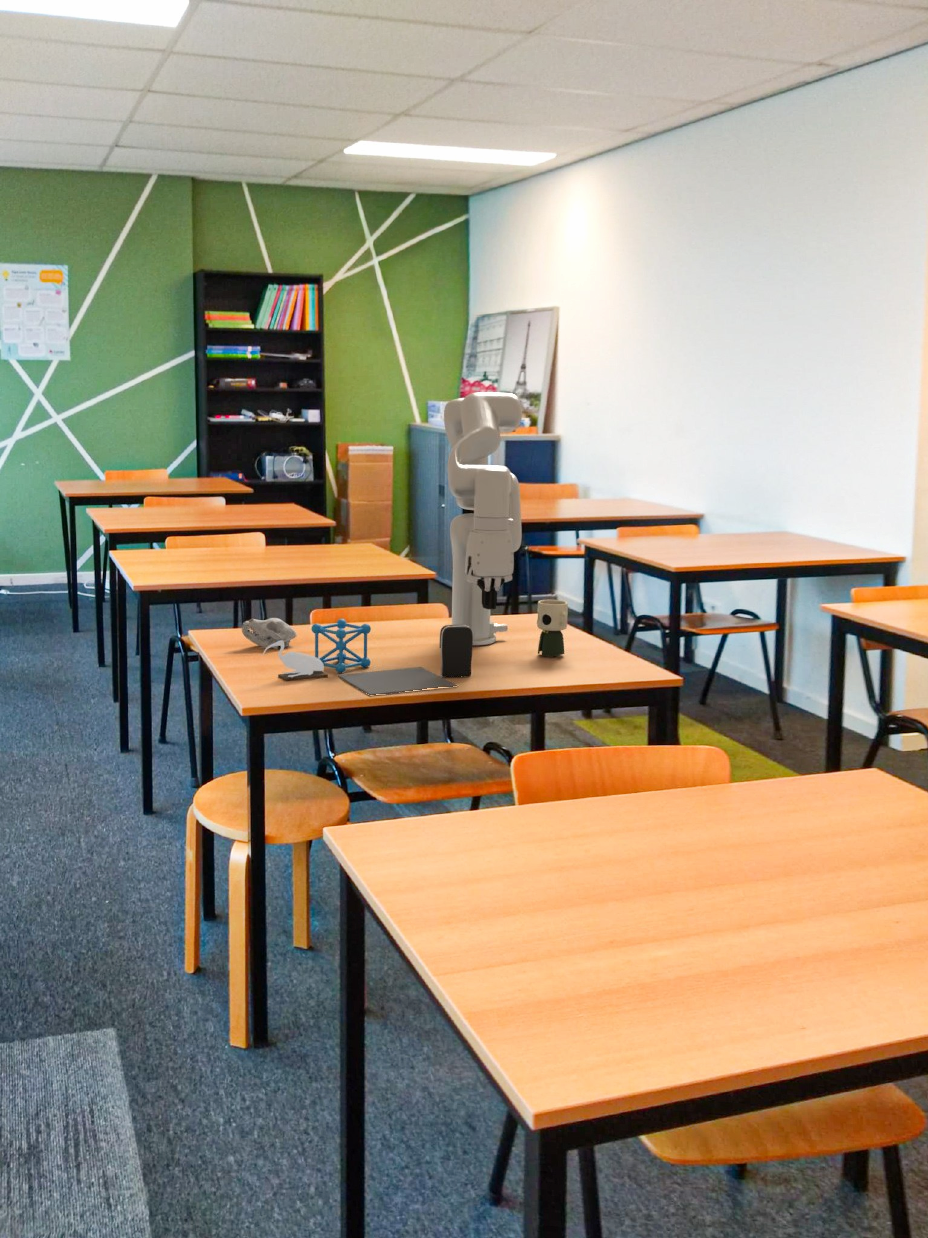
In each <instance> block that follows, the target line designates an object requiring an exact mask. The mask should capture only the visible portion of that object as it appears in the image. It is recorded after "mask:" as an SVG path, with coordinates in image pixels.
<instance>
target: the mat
mask: <svg viewBox="0 0 928 1238" xmlns="http://www.w3.org/2000/svg"><path fill="white" fill-rule="evenodd" d="M337 678H339V679H341V680H342V681H344V682H346V683H347V682H348V683H347V684H349V685H350V686H352V685H353V687H354V688H356V689H357V688H358V689H357V690H359V691H361V692H362V691H363V692H362V693H364V694H366V693H367V694H369V695H376V694H386V695H392V694H391V693H396V694H400V693H399V692H405V691H413V690H422V689H427V688H438V687H453V686H457V687H458V684H456V683H454V682H451V681H450V680H448V679H446V678H445V677H442V676H441V675H438V674H436V673H435V672H433V671H430V670H429V669H427V668H424V667H422V666H416V667H414V666H413V667H407V668H406V667H404V668H395V669H385V670H384V669H383V670H373V671H364V672H362V671H361V672H354V673H351V672H350V673H340V674H337ZM453 688H454V687H453ZM405 693H406V692H405ZM367 694H366V695H367ZM369 695H368V696H369Z"/></svg>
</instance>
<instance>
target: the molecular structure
mask: <svg viewBox="0 0 928 1238" xmlns="http://www.w3.org/2000/svg"><path fill="white" fill-rule="evenodd" d="M346 627H347V628H351V629H348V630H345V628H346ZM331 628H332V629H331ZM333 628H338V629H337V630H333ZM310 630H311V632H312V633H313V634H314V657H316V658H317V659H319V660H321V661H322V663H323V665H324V667H328V668H333V669H335V671H336V673H338V674H345V672H346V670H347V669H350V668H354V667H357V666H358V667H359V666H361V667H362V668H369V667H370V665H371V660H370V658H368V634H370V632H371V631H372V628H371V625H369V624H368V623H363V624H362V625H361V626H360V625H356V624H351V623H347V621H346V619H344V618H339V619H338V620H337V621H336V623H331V624H330V623H329V624H326V625H325V624H324V625H321V624H320V623H314V624H312V626H311V629H310ZM319 634H321V635H323V636H324V637H325V638H326V639H328V640H330V641H331V642H332V643H334V644H335V647H334V648H332V649H331V650H330V651H328V652H327V653H325V654H324V655H322V656H321V657H319ZM330 634H332V635H335V636H336V638H337V639H338V640H337V639H336V638H335V637H334V638H333V637H332V636H331V635H330ZM351 634H353V635H352V636H350V637H349V638H347V639H346V640H344V639H345V638H346V637H347V635H351ZM362 634H363V657H361V656H360V655H358V654H357V653H355V652H354V651H352V650H351V649H349V648H348V647H347V644H349V643H350V642H351V641H353V640H355V639H356V638H357V637H359V636H361V635H362ZM337 651H338V652H337ZM344 651H346V652H347V653H348V654H350V655H351V656H352V657H350V656H347V654H346V653H345V652H344ZM335 652H337V654H336V655H335V656H333V657H330V656H331V655H332V654H334V653H335ZM331 661H338V663H337V664H333V663H329V662H331ZM345 661H350V662H353V663H350V664H345V663H344V662H345Z"/></svg>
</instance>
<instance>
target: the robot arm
mask: <svg viewBox="0 0 928 1238" xmlns="http://www.w3.org/2000/svg"><path fill="white" fill-rule="evenodd" d="M522 419H523V407H522V404H521V401H520V399H519V397H518V396H517V395H516V394H514V393H512V392H511V393H510V392H487V391H485V392H482V391H481V392H473V393H469V394H468V395H466V396H465V397H460V398H454V399H451V400H449V401H448V402H446V404H445V406H444V410H443V423H444V429H445V434H446V437H447V441H448V443H449V444H450V448H451V451H450V452H449V454H448V455H449V456H448V460H447V465H446V466H447V479H448V480H447V481H448V487H449V491H450V493H451V495H452V496H453V497H454V498H455V503H456V504H457V506H458V507H459V508H461V509H464V510H470V511H473V513H472V512H471V513H462V514H459V515H457V516H455V517H454V518H453V519H452V520H451V521H450V525H449V535H450V537H449V538H450V544H451V555H452V588H451V589H452V590H451V591H452V592H451V593H452V594H451V595H452V596H451V601H452V602H451V625H466V626H468V627H470V628H471V630H472V634H473V646H485V645H491V644H494V643H495V642H496V640H497V636H496V635H495V634H496V633H498V632H499V633H503V632H508V629H509V628H508V625H507V623H500V624H498V623H494V622H492V621H491V610H496V609H497V605H498V591H500V588H501V587H502V585H503V584H504V583H508V582H510V581H513V575H512V574H513V573H514V568H515V567H514V566H515V565H514V564H515V563H514V562H515V561H514V559H515V557H514V555H515V554H514V553H515V552H517V551H518V550H519V549H520V547H521V544H522V531H523V530H522V529H523V528H522V514H521V513H522V509H521V488H520V483H519V480H518V478H517V476H516V475H515V474H514V473H512V472H511V470H510V469H509V468H508V467H507V466H505V465H501V464H499V465H498V464H497V465H495V464H494V465H491V464H489V456H490V455H492V454H493V453H495V452H496V451H497V450H498V448H499V447H500V445H501V441H502V440H501V439H502V438H501V434H510V433H512V432H515V431H516V430H517V429H518V428H519V427H520V425H521V423H522Z"/></svg>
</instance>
